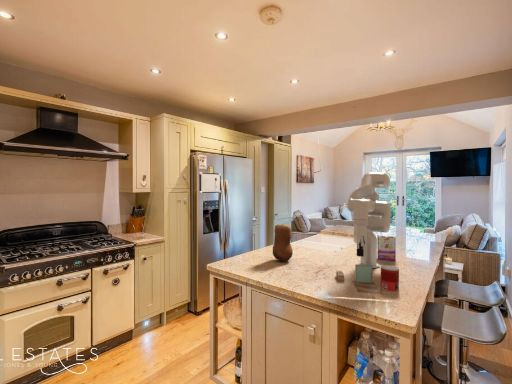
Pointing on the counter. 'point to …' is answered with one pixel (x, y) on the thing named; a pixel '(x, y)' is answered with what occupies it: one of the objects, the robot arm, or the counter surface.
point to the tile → (363, 273)
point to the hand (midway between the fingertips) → (359, 256)
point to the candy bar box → (386, 247)
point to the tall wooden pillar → (340, 275)
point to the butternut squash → (282, 243)
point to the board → (367, 287)
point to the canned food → (390, 277)
